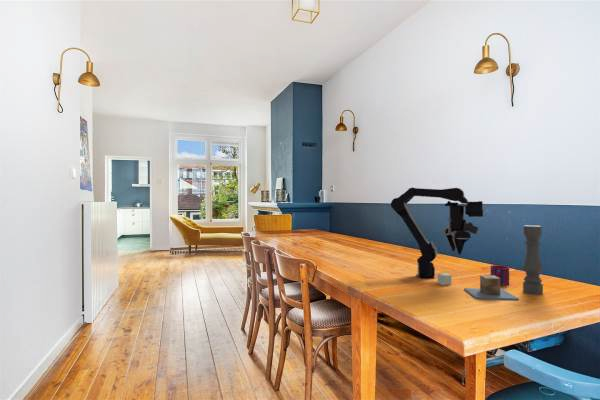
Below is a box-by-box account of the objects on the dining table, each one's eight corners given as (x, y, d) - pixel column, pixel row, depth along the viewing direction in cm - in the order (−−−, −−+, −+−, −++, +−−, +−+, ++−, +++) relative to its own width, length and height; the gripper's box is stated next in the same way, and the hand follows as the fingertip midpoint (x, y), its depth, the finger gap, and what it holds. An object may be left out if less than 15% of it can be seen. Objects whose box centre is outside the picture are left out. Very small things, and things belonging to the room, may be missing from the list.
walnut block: (485, 294, 123) (485, 278, 123) (480, 291, 128) (480, 275, 128) (500, 295, 122) (500, 278, 122) (494, 291, 127) (494, 275, 127)
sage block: (441, 285, 140) (441, 275, 140) (437, 282, 144) (437, 273, 144) (451, 285, 140) (451, 275, 140) (446, 282, 144) (446, 273, 144)
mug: (510, 282, 142) (510, 266, 142) (505, 287, 135) (505, 270, 135) (493, 280, 147) (492, 264, 147) (486, 284, 139) (486, 268, 139)
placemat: (475, 298, 120) (475, 297, 120) (464, 289, 132) (464, 288, 132) (518, 300, 118) (518, 298, 118) (503, 290, 130) (503, 289, 130)
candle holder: (539, 290, 130) (539, 225, 130) (545, 295, 124) (545, 226, 124) (520, 289, 132) (520, 225, 132) (525, 293, 126) (525, 226, 126)
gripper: (484, 218, 137) (484, 256, 137) (469, 215, 156) (469, 249, 156) (455, 218, 139) (454, 256, 139) (443, 215, 158) (443, 249, 158)
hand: (456, 252), depth 148 cm, fingers open, 9 cm apart
